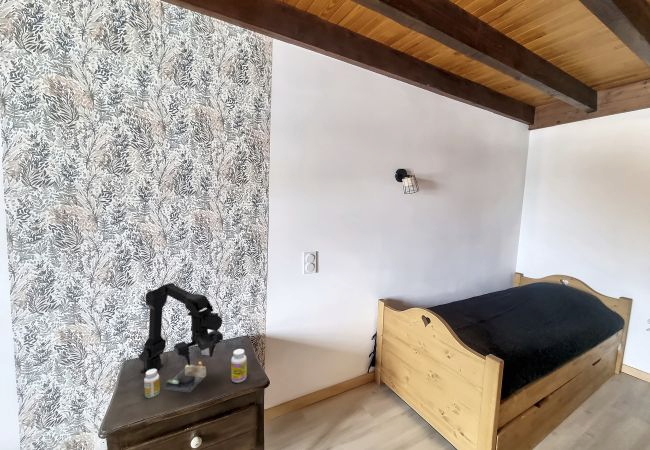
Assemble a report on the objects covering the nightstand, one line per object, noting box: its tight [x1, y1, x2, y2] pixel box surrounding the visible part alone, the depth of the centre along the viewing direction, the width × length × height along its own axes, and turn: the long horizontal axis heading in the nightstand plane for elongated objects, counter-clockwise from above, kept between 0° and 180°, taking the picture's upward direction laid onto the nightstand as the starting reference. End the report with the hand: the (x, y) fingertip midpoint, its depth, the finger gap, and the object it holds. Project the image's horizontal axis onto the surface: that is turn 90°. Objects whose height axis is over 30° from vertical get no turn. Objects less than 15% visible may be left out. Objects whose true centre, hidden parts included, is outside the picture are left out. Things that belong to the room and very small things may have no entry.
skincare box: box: [201, 329, 216, 357], centre depth 147 cm, size 6×4×12 cm
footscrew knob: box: [176, 364, 207, 384], centre depth 122 cm, size 12×7×6 cm, turn 81°
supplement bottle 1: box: [143, 369, 161, 399], centre depth 115 cm, size 5×5×10 cm
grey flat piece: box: [163, 360, 208, 393], centre depth 125 cm, size 12×17×4 cm
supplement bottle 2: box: [230, 348, 248, 384], centre depth 125 cm, size 7×7×13 cm
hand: (200, 360), depth 120 cm, fingers open, 9 cm apart
